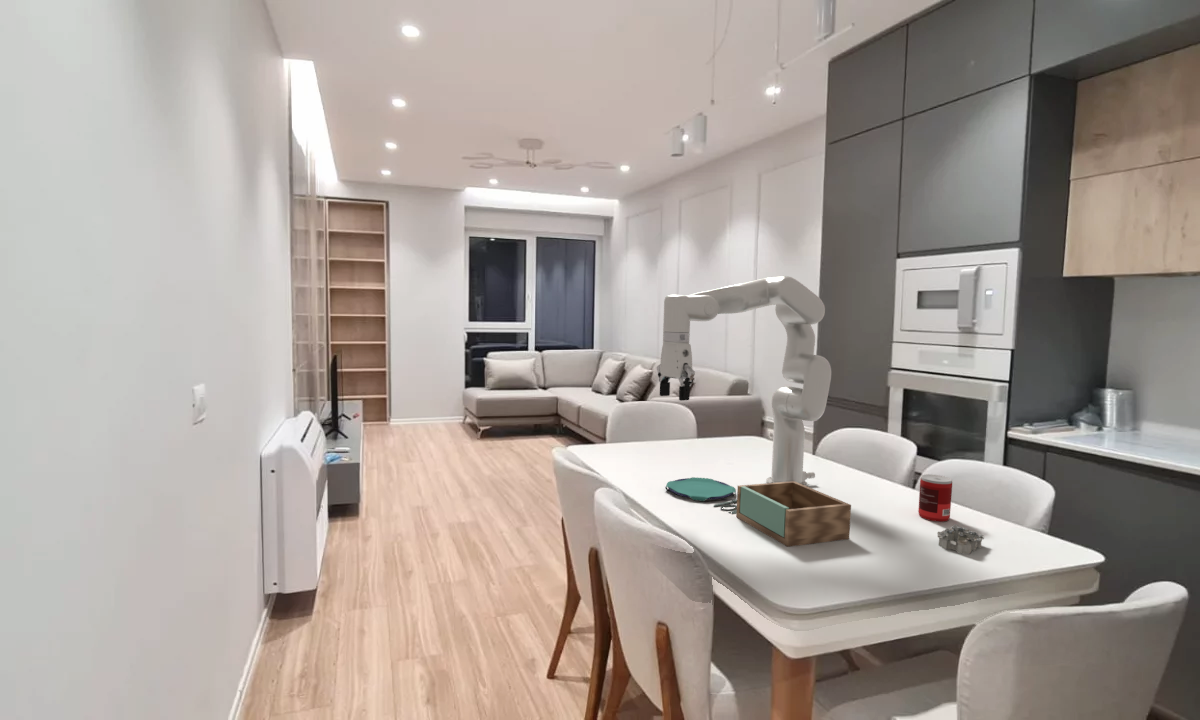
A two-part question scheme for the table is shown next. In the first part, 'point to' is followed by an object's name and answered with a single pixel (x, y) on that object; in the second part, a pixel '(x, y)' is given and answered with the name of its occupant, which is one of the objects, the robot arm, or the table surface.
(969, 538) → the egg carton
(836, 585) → the table surface
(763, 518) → the panel
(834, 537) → the crate
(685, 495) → the teal flat rounded piece
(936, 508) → the canned food
